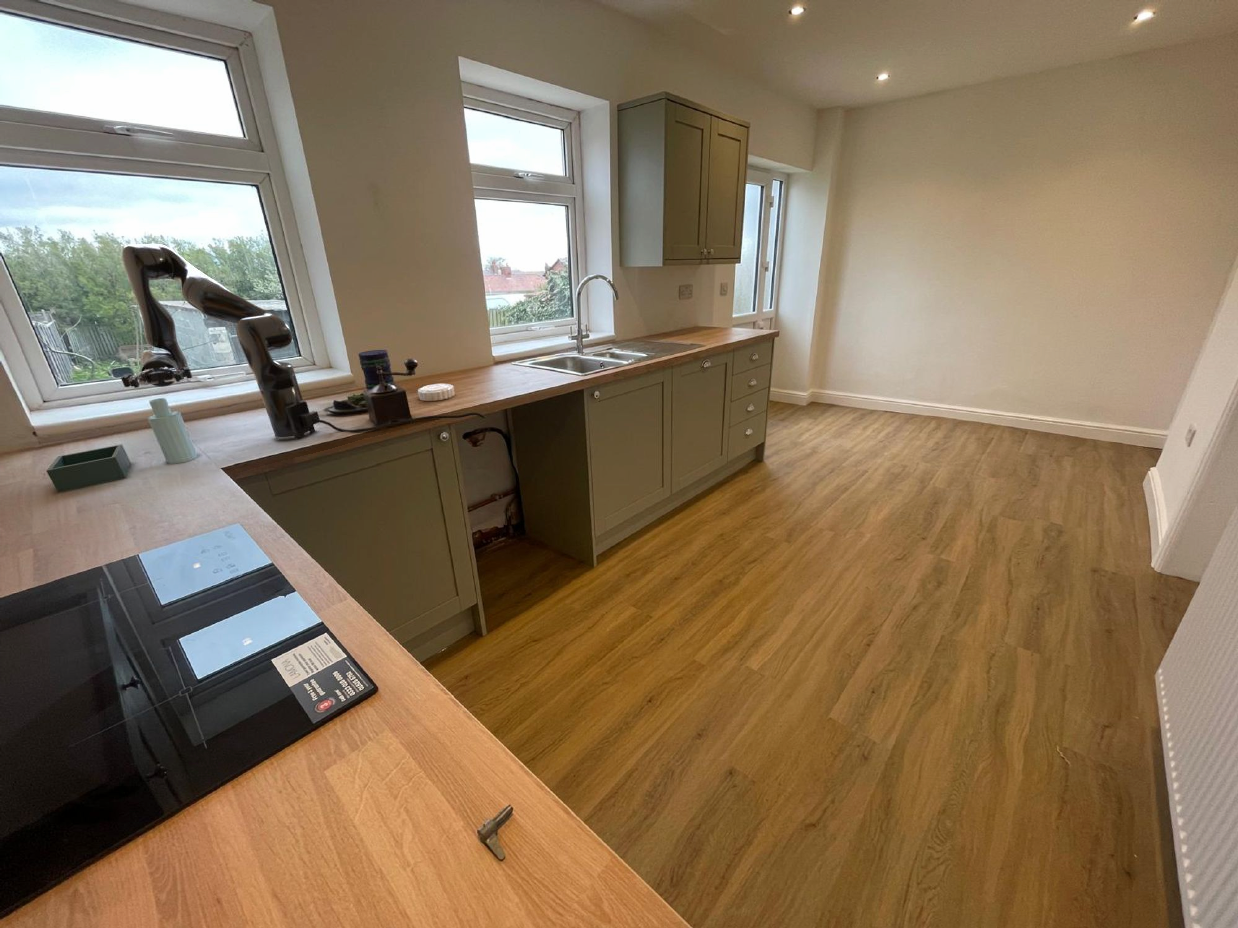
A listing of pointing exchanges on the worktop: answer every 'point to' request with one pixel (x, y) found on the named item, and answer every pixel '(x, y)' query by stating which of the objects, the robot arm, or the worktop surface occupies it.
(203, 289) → the robot arm
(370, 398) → the manual coffee grinder
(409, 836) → the worktop surface
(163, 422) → the bottle
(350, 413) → the salad plate
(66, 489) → the dark green open box
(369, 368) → the storage jar
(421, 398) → the mooncake
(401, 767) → the worktop surface
